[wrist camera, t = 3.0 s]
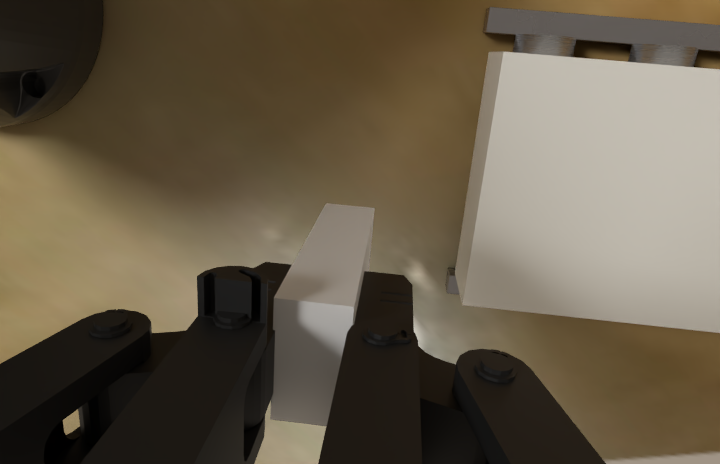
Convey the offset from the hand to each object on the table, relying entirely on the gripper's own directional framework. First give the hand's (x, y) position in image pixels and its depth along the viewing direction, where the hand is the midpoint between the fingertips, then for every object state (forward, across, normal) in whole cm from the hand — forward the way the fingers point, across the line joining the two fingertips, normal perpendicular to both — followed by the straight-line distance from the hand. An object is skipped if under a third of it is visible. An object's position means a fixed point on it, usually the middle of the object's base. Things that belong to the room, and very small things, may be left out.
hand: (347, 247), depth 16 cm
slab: (+13, +14, 0) cm, 19 cm away
